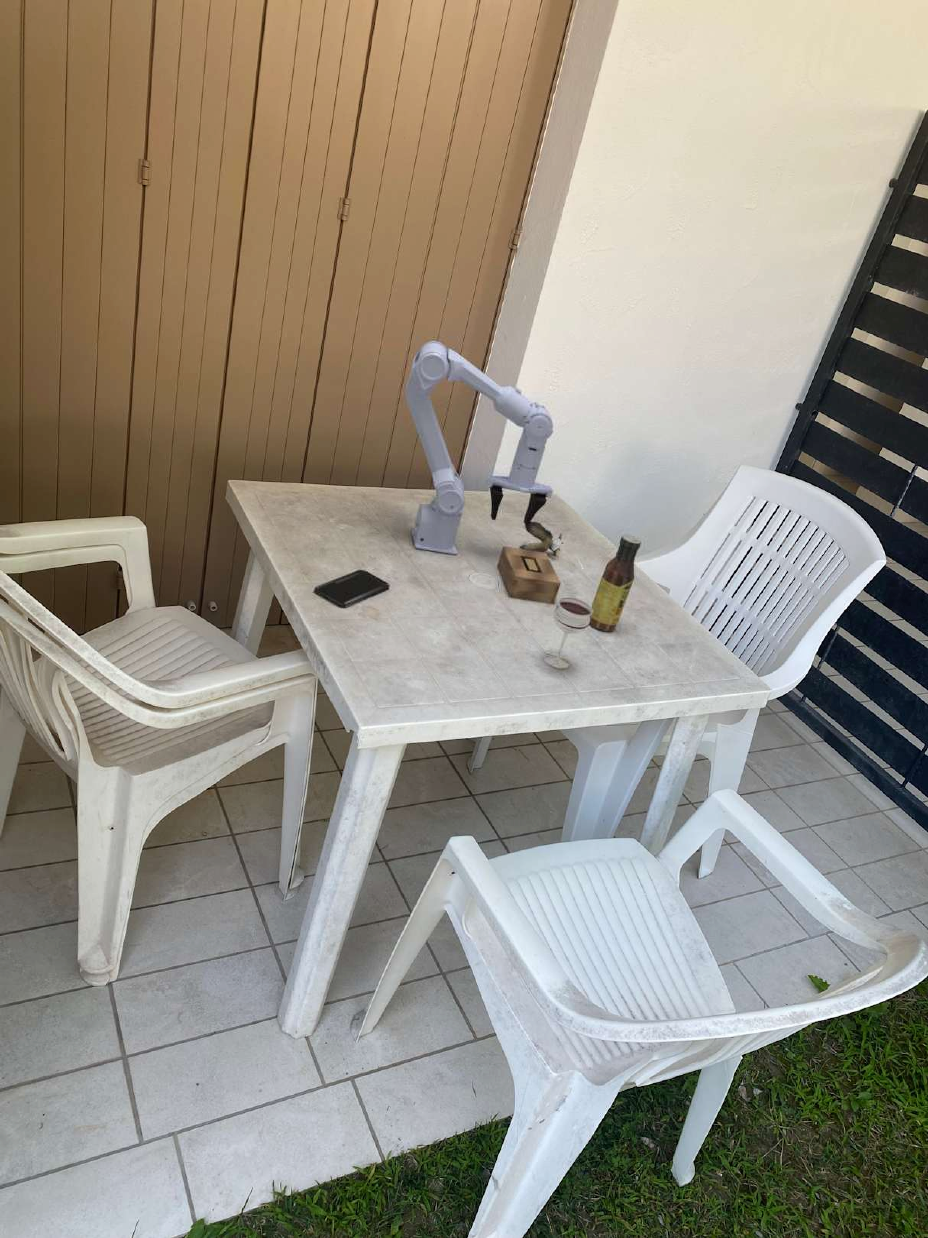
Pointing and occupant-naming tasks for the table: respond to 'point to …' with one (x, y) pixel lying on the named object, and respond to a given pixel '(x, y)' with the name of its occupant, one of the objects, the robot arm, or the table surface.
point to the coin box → (528, 575)
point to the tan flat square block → (530, 565)
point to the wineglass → (569, 624)
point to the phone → (351, 588)
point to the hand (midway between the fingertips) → (509, 520)
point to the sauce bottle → (615, 585)
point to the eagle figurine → (542, 535)
